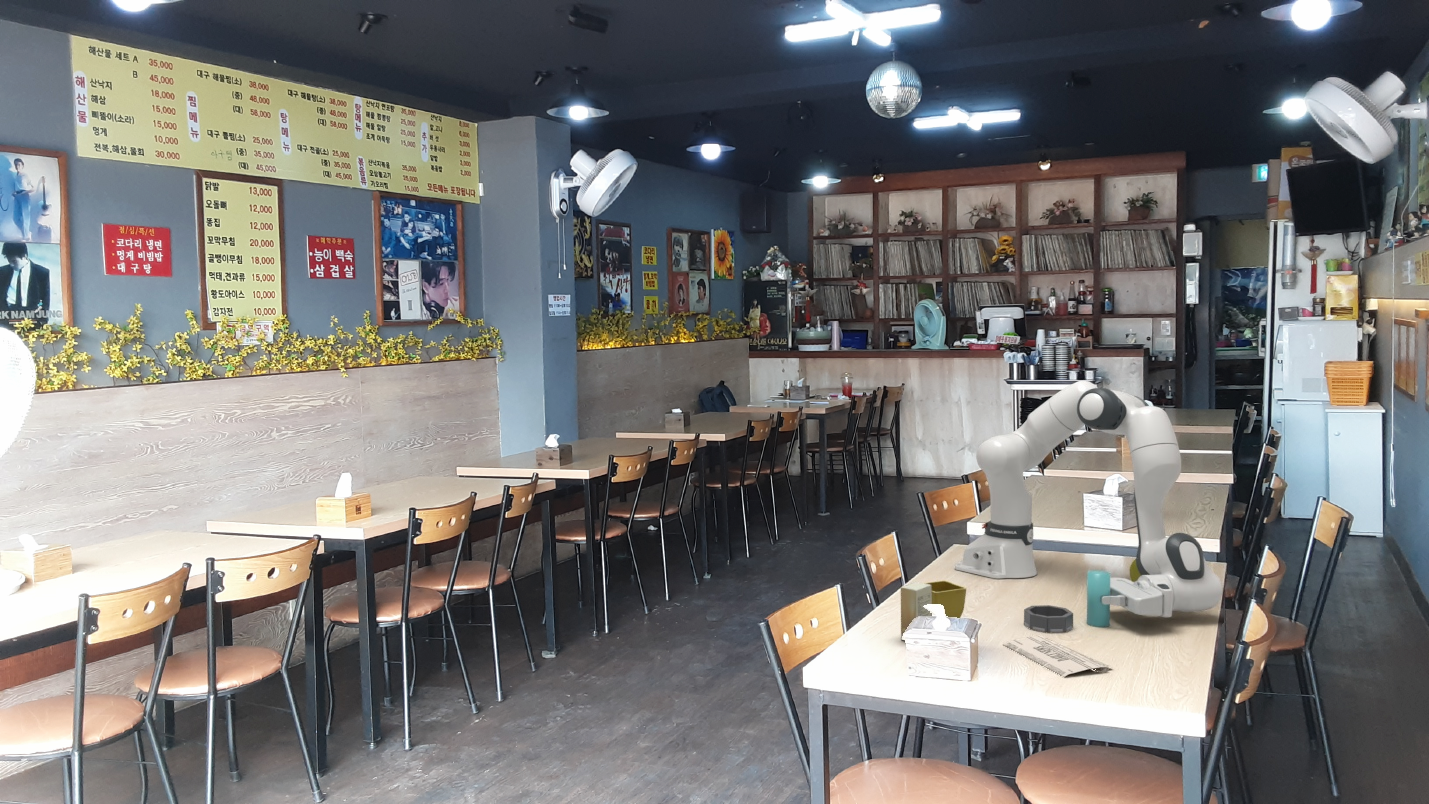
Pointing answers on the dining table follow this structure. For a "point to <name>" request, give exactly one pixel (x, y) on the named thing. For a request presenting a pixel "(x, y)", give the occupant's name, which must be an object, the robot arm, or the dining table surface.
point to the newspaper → (1054, 655)
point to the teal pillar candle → (1098, 598)
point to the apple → (1134, 572)
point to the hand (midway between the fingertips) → (1094, 596)
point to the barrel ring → (1048, 618)
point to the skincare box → (914, 602)
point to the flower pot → (948, 597)
